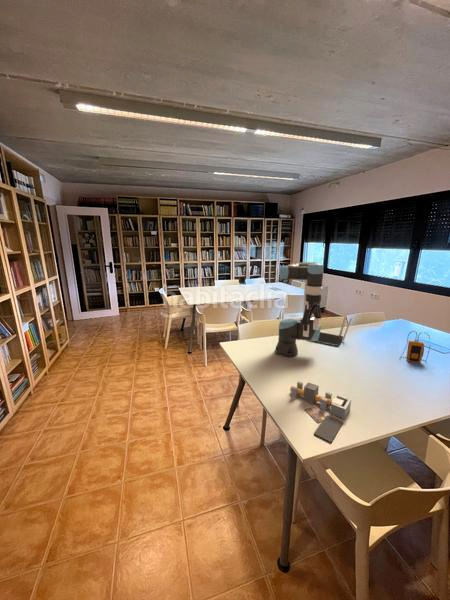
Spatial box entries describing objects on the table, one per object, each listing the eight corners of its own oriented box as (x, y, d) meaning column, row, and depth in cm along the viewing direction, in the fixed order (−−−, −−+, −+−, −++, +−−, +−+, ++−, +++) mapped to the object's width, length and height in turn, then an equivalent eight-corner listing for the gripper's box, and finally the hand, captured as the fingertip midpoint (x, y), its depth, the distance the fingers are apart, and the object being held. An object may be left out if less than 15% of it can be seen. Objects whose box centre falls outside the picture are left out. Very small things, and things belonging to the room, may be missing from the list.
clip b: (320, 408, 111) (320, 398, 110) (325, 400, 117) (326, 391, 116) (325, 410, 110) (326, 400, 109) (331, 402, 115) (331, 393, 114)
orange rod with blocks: (289, 394, 122) (289, 381, 121) (293, 390, 126) (293, 377, 125) (340, 413, 107) (341, 399, 106) (343, 408, 111) (344, 394, 109)
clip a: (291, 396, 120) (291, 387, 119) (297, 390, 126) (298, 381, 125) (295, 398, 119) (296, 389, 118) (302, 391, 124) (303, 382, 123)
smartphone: (343, 421, 102) (331, 442, 91) (343, 423, 103) (331, 444, 92) (326, 414, 107) (313, 433, 96) (326, 416, 107) (312, 435, 96)
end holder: (330, 413, 108) (331, 403, 107) (336, 404, 115) (337, 394, 113) (344, 419, 104) (345, 409, 103) (350, 409, 111) (351, 399, 110)
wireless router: (299, 339, 195) (301, 314, 191) (308, 331, 214) (310, 308, 209) (346, 348, 176) (349, 322, 172) (351, 339, 195) (354, 314, 190)
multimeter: (423, 357, 161) (428, 328, 157) (428, 364, 152) (433, 333, 148) (396, 354, 167) (400, 326, 163) (399, 360, 158) (404, 330, 154)
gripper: (311, 298, 115) (308, 341, 120) (329, 291, 134) (326, 328, 138) (296, 296, 120) (293, 337, 124) (315, 289, 138) (312, 325, 143)
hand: (310, 333), depth 131 cm, fingers open, 13 cm apart
